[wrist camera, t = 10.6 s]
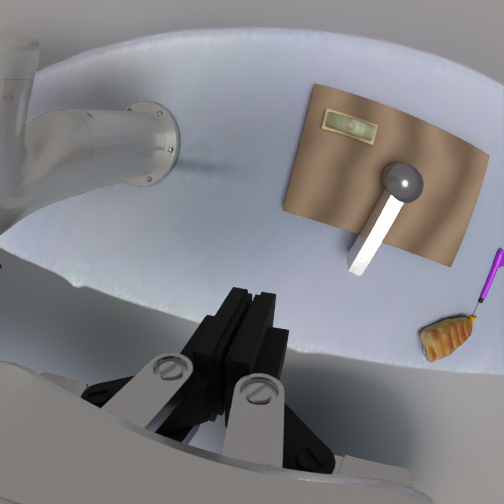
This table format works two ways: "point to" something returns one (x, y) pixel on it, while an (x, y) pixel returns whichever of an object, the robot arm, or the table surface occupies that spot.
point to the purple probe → (490, 278)
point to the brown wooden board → (371, 165)
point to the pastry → (444, 337)
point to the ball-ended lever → (385, 212)
